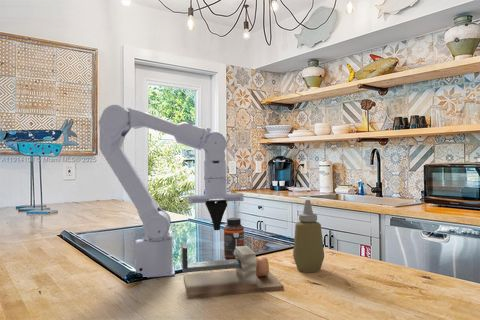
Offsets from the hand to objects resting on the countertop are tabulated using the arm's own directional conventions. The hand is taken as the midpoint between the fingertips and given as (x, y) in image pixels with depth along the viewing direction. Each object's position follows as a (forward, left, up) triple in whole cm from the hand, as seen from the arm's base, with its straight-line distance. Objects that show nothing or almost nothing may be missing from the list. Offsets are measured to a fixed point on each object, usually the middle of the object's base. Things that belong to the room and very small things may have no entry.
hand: (216, 229), depth 98 cm
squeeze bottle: (+23, -7, -11) cm, 26 cm away
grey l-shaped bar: (-2, -12, -6) cm, 14 cm away
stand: (+1, -12, -10) cm, 16 cm away
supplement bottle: (+7, +11, -11) cm, 17 cm away
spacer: (+8, -11, -7) cm, 16 cm away
